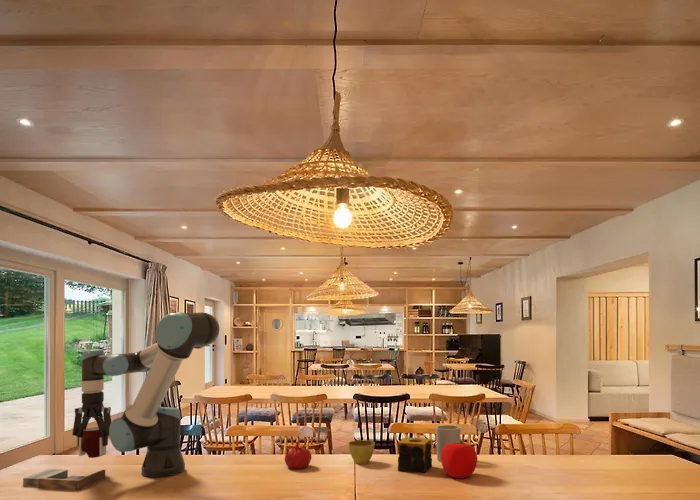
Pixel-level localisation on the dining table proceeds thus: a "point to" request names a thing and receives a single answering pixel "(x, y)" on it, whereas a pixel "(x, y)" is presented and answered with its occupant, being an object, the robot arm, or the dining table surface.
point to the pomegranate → (297, 457)
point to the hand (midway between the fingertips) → (92, 455)
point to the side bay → (62, 479)
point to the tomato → (459, 459)
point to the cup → (446, 437)
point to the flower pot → (361, 450)
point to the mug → (91, 442)
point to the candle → (414, 455)
